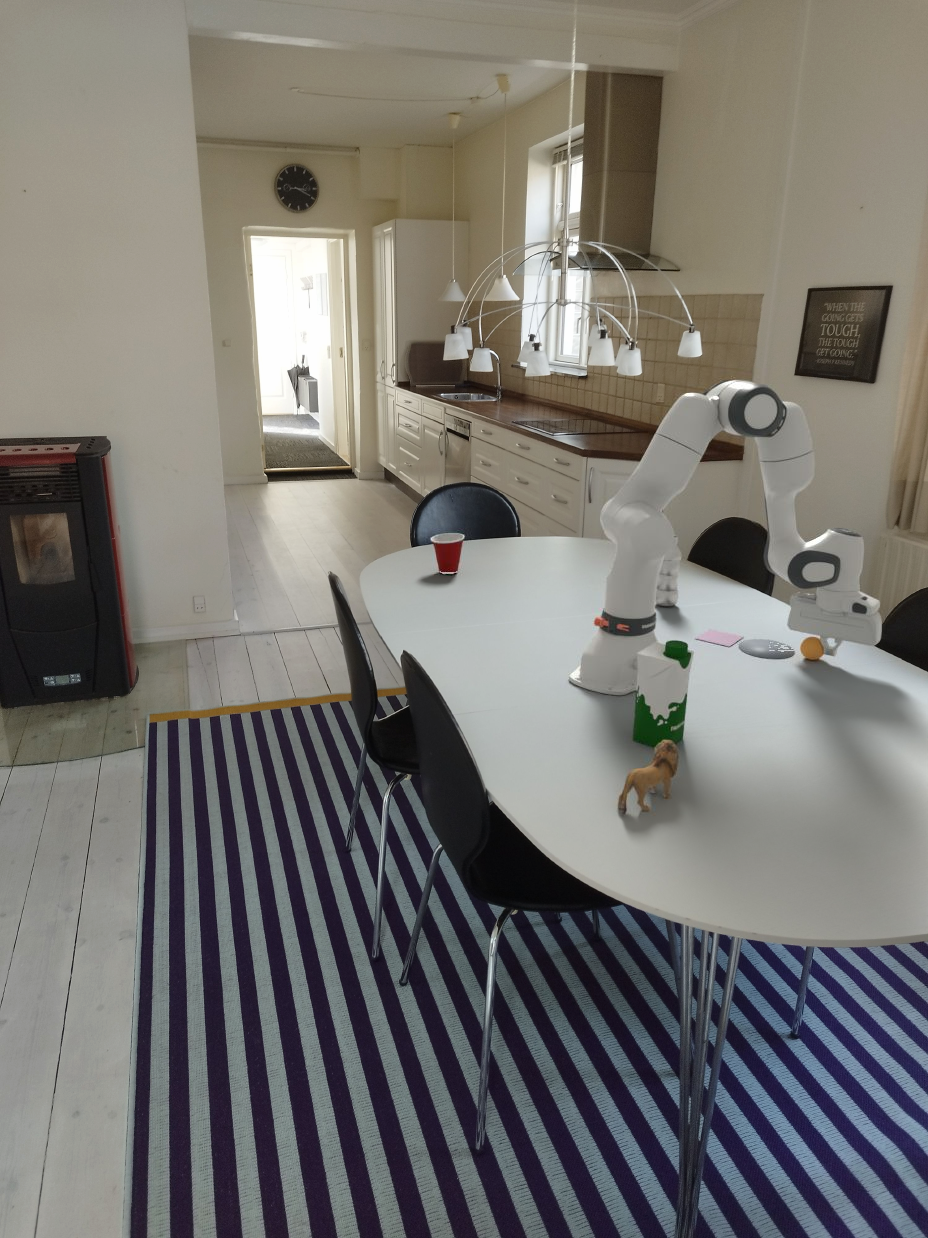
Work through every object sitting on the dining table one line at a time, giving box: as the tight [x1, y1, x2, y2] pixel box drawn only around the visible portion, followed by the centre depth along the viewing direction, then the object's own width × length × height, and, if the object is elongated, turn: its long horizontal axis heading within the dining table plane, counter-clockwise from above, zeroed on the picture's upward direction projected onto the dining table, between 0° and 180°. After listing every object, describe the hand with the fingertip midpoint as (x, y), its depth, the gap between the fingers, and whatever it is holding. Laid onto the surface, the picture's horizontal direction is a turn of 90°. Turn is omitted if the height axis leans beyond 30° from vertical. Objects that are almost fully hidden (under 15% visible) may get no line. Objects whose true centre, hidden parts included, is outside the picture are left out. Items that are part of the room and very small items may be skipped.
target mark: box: [738, 638, 795, 660], centre depth 209 cm, size 13×13×1 cm
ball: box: [800, 636, 825, 661], centre depth 202 cm, size 6×6×6 cm
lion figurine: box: [617, 740, 680, 816], centre depth 141 cm, size 15×5×9 cm, turn 138°
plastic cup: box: [430, 532, 465, 572], centre depth 271 cm, size 11×11×12 cm
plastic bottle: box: [655, 534, 682, 607], centre depth 238 cm, size 6×7×20 cm
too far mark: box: [694, 628, 744, 648], centre depth 216 cm, size 9×9×1 cm
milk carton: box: [632, 639, 695, 748], centre depth 160 cm, size 9×9×20 cm
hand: (829, 654), depth 200 cm, fingers closed
